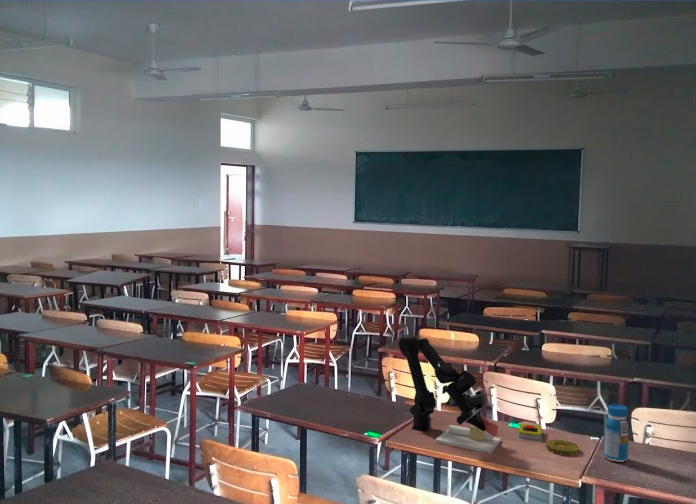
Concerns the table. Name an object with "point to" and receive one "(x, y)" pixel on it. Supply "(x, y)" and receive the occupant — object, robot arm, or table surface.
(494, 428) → the lever
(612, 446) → the beverage bottle
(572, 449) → the olive round disc
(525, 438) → the emergency button
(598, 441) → the table surface
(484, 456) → the table surface
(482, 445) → the board
